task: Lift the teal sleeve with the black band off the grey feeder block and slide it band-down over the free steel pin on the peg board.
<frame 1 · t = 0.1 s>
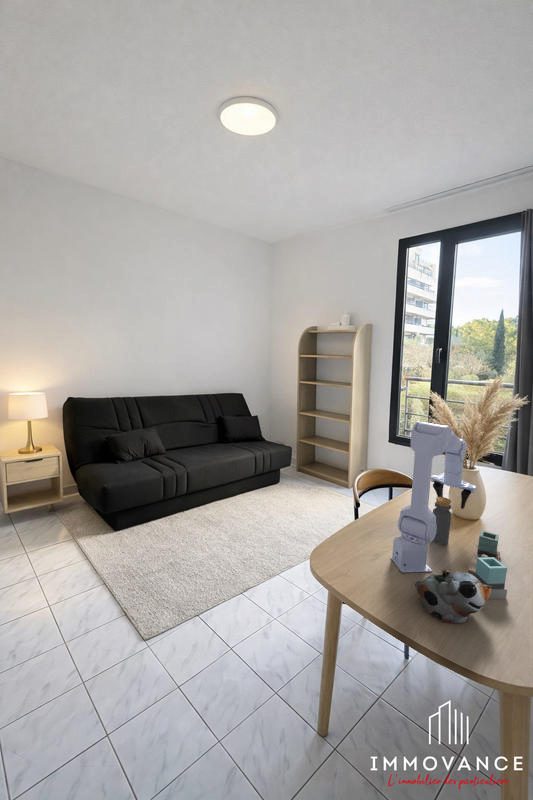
hand: (451, 504, 133), 11 cm above the table, tool pointing down, fingers open, 7 cm apart
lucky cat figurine: (449, 610, 93), on the table
sleeve: (489, 582, 100), point 2 cm above the table, touching feeder block
peg board: (484, 564, 114), on the table
bottle: (438, 540, 128), on the table
feeder block: (488, 591, 101), on the table
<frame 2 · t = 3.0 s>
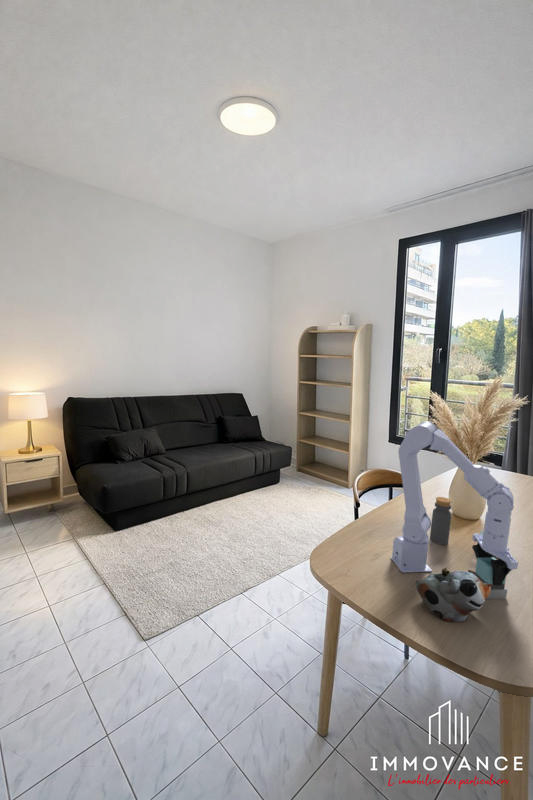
hand: (489, 578, 100), 4 cm above the table, tool pointing down, fingers closed on sleeve, 5 cm apart
sleeve: (489, 582, 100), point 3 cm above the table, touching feeder block, gripper
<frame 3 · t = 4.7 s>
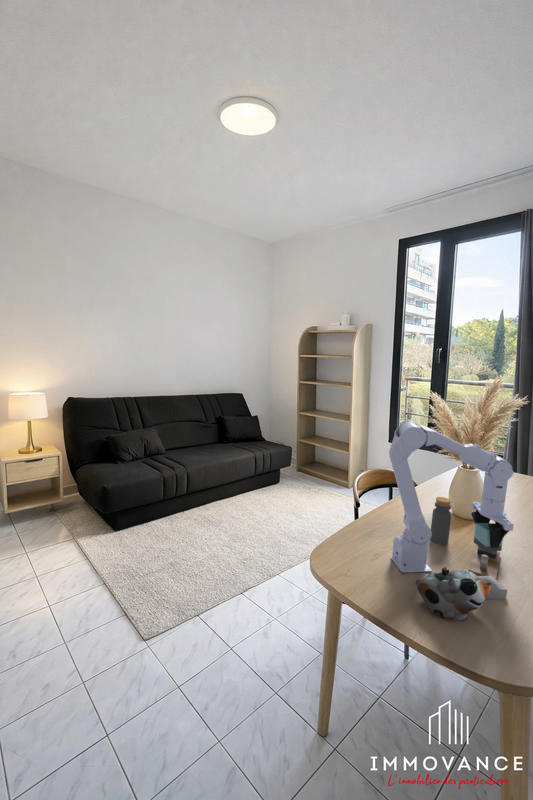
hand: (487, 541, 107), 10 cm above the table, tool pointing down, fingers closed on sleeve, 5 cm apart
sleeve: (487, 546, 107), point 9 cm above the table, touching gripper
when the fingers open (4 cm above the table, at t = 6.7 s): sleeve stays where it is, resting on peg board.
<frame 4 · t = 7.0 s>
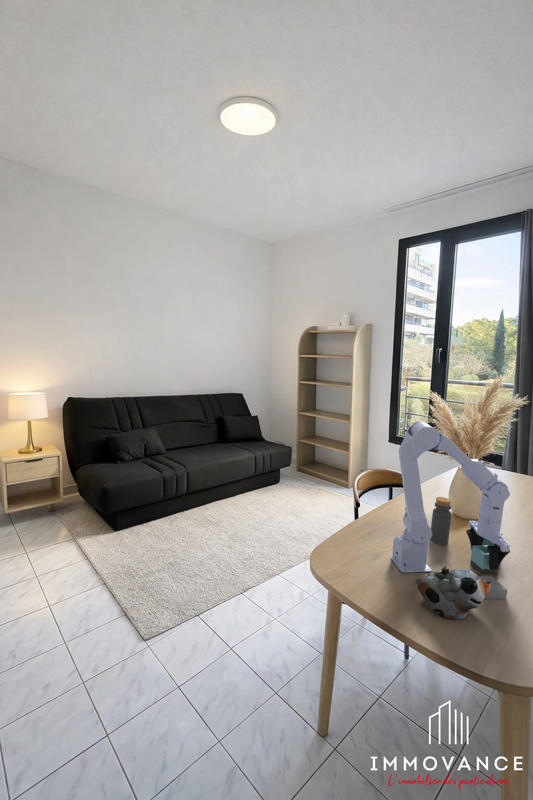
hand: (484, 561, 109), 4 cm above the table, tool pointing down, fingers open, 7 cm apart
sleeve: (483, 568, 109), point 1 cm above the table, touching peg board
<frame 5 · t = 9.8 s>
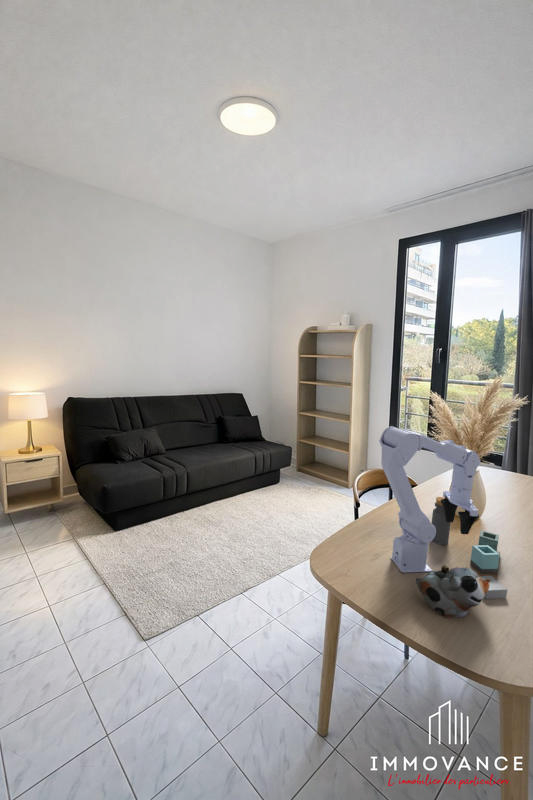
hand: (456, 527, 115), 10 cm above the table, tool pointing down, fingers open, 7 cm apart
at the end: sleeve 0.1 cm from the target spot on the peg board, point 1.5 cm above the peg board's base; sleeve tilted 0°; the gripper is holding nothing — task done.
